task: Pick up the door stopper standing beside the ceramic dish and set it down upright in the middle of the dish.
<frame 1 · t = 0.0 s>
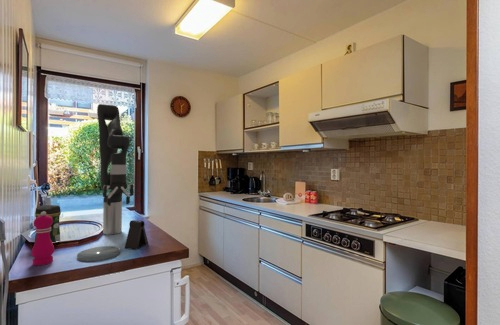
hand: (118, 204, 141), 17 cm above the worktop, tool pointing down, fingers open, 8 cm apart
dish: (99, 254, 116), on the worktop
door stopper: (136, 246, 128), on the worktop
coffee jar: (47, 244, 130), on the worktop
pepper mill: (43, 263, 106), on the worktop
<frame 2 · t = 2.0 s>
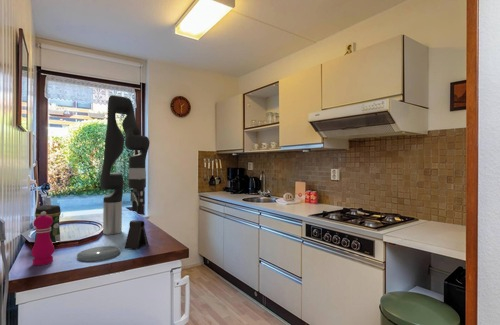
hand: (137, 212, 128), 16 cm above the worktop, tool pointing down, fingers open, 8 cm apart
nothing on the worktop moved.
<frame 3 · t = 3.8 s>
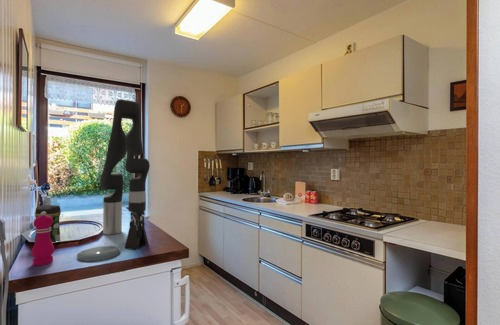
hand: (136, 236, 128), 5 cm above the worktop, tool pointing down, fingers closed on door stopper, 6 cm apart
door stopper: (136, 246, 128), on the worktop, touching gripper
everything else where it was.
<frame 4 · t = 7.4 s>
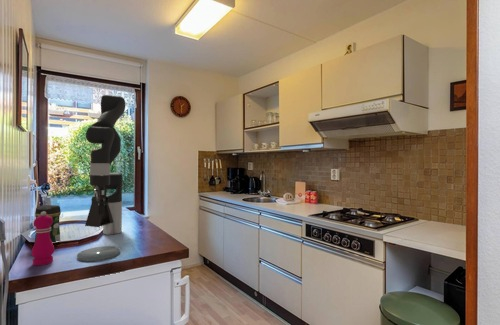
hand: (99, 213, 116), 18 cm above the worktop, tool pointing down, fingers closed on door stopper, 6 cm apart
door stopper: (99, 224, 116), point 13 cm above the worktop, touching gripper
everything else where it was.
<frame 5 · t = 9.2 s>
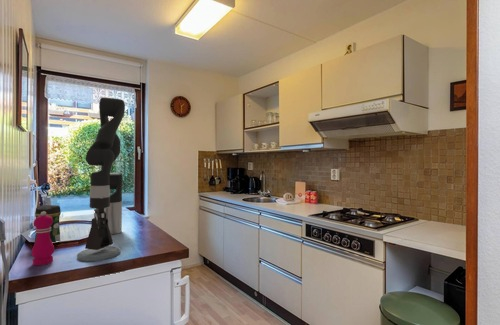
hand: (99, 235, 116), 8 cm above the worktop, tool pointing down, fingers closed on door stopper, 6 cm apart
door stopper: (99, 246, 116), point 3 cm above the worktop, touching gripper
everything else where it was.
when the fingers open (6 cm above the worktop, at t = 10.8 s): door stopper stays where it is, resting on dish.
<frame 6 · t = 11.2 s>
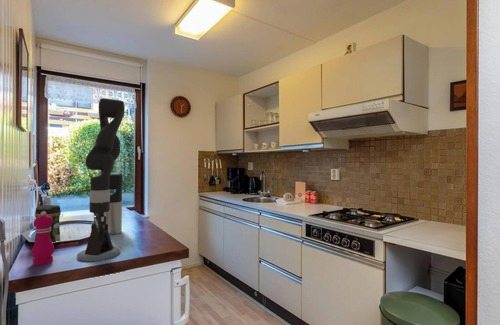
hand: (99, 238, 116), 7 cm above the worktop, tool pointing down, fingers open, 8 cm apart
door stopper: (99, 252, 116), point 1 cm above the worktop, touching dish
everything else where it was.
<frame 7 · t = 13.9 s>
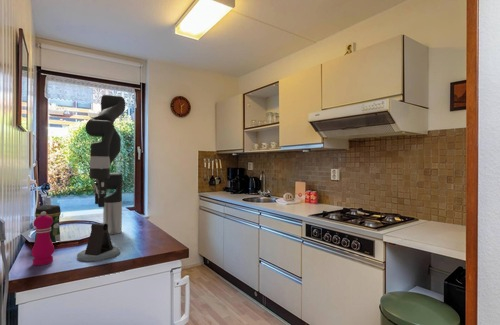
hand: (99, 205, 115), 21 cm above the worktop, tool pointing down, fingers open, 8 cm apart
nothing on the worktop moved.
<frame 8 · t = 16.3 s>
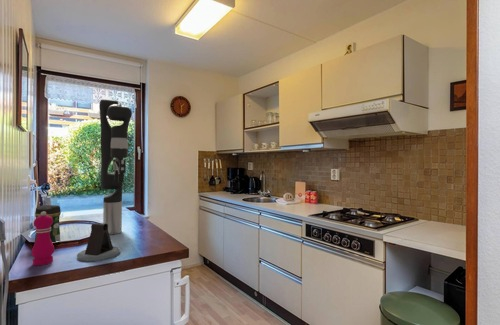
hand: (119, 181, 131), 30 cm above the worktop, tool pointing down, fingers open, 8 cm apart
nothing on the worktop moved.
at the end: door stopper inside the target area on the dish (0.1 cm from its centre), point 1.1 cm above the dish's base; door stopper tilted 0°; the gripper is holding nothing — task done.
